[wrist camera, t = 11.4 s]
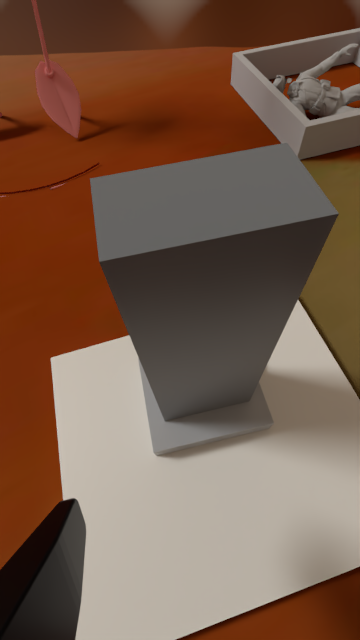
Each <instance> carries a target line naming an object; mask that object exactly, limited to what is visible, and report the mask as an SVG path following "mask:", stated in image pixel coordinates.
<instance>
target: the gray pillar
mask: <svg viewBox="0 0 360 640" xmlns="http://www.w3.org/2000/svg"><path fill="white" fill-rule="evenodd" d="M90 183H91V192H92V201H93V210H94V219H95V228H96V237H97V246H98V255H99V262H100V265H101V267H102V270H103V272H104V275H105V277H106V279H107V282H108V284H109V287H110V289H111V292H112V294H113V296H114V299H115V301H116V304H117V306H118V309H119V311H120V313H121V316H122V318H123V321H124V323H125V326H126V328H127V331H128V333H129V335H130V338H131V340H132V343H133V345H134V348H135V350H136V352H137V355H138V357H139V358H138V361H139V367H140V373H141V379H142V385H143V391H144V397H145V404H146V410H147V416H148V422H149V428H150V434H151V440H152V447H153V453H154V454H155V455H156V456H159V455H163V454H167V453H171V452H175V451H179V450H183V449H187V448H192V447H196V446H200V445H204V444H208V443H212V442H216V441H220V440H224V439H228V438H232V437H236V436H241V435H245V434H249V433H253V432H257V431H261V430H265V429H269V428H270V427H271V426H272V425H273V424H274V421H273V419H272V416H271V413H270V411H269V408H268V405H267V402H266V400H265V397H264V394H263V392H262V389H261V386H260V384H259V380H260V378H261V376H262V374H263V372H264V370H265V368H266V366H267V363H268V361H269V359H270V357H271V355H272V353H273V351H274V349H275V347H276V345H277V342H278V340H279V338H280V336H281V334H282V332H283V330H284V328H285V326H286V324H287V321H288V319H289V317H290V315H291V313H292V311H293V309H294V307H295V305H296V302H297V300H298V298H299V296H300V294H301V292H302V290H303V288H304V286H305V284H306V281H307V279H308V277H309V275H310V273H311V271H312V269H313V267H314V265H315V262H316V260H317V258H318V256H319V254H320V252H321V250H322V248H323V246H324V244H325V241H326V239H327V237H328V235H329V233H330V231H331V229H332V227H333V225H334V222H335V220H336V218H337V216H338V214H339V213H338V212H337V211H336V209H335V208H334V207H333V205H332V204H331V202H330V201H329V200H328V198H327V197H326V195H325V194H324V193H323V191H322V190H321V189H320V187H319V186H318V184H317V183H316V182H315V180H314V179H313V178H312V176H311V175H310V173H309V172H308V171H307V169H306V168H305V167H304V165H303V164H302V162H301V161H300V160H299V158H298V157H297V155H296V154H295V153H294V151H293V150H292V149H291V147H290V146H289V144H288V143H283V144H277V145H272V146H266V147H261V148H255V149H250V150H244V151H239V152H233V153H228V154H222V155H217V156H212V157H206V158H201V159H195V160H190V161H184V162H179V163H173V164H168V165H162V166H157V167H151V168H146V169H140V170H135V171H130V172H124V173H119V174H113V175H108V176H102V177H97V178H91V179H90Z"/></svg>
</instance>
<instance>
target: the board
mask: <svg viewBox="0 0 360 640" xmlns="http://www.w3.org/2000/svg"><path fill="white" fill-rule="evenodd" d="M138 358H139V357H138V355H137V352H136V350H135V348H134V345H133V343H132V340H131V338H130V335H129V336H125V337H122V338H118V339H115V340H111V341H108V342H104V343H101V344H97V345H94V346H91V347H87V348H84V349H80V350H77V351H73V352H70V353H66V354H63V355H59V356H56V357H52V358H51V366H52V378H53V389H54V400H55V412H56V423H57V434H58V446H59V457H60V468H61V480H62V491H63V500H67V499H71V498H75V499H77V500H78V502H79V505H80V508H81V511H82V514H83V517H84V520H85V524H86V543H85V557H84V571H83V585H82V597H81V606H80V613H79V619H78V625H77V631H76V638H75V639H76V640H176V639H178V638H181V637H183V636H186V635H188V634H191V633H193V632H196V631H198V630H201V629H204V628H206V627H209V626H211V625H214V624H216V623H219V622H221V621H224V620H226V619H229V618H231V617H234V616H236V615H239V614H241V613H244V612H246V611H249V610H251V609H254V608H256V607H259V606H262V605H264V604H267V603H269V602H272V601H274V600H277V599H279V598H282V597H284V596H287V595H289V594H292V593H294V592H297V591H299V590H302V589H304V588H307V587H309V586H312V585H314V584H317V583H319V582H322V581H325V580H327V579H330V578H332V577H335V576H337V575H340V574H342V573H345V572H347V571H350V570H352V569H355V568H357V567H360V399H359V398H358V396H357V394H356V393H355V391H354V390H353V388H352V386H351V385H350V383H349V381H348V380H347V378H346V377H345V375H344V373H343V372H342V370H341V368H340V367H339V365H338V364H337V362H336V360H335V359H334V357H333V355H332V354H331V352H330V351H329V349H328V347H327V346H326V344H325V342H324V341H323V339H322V338H321V336H320V334H319V333H318V331H317V329H316V328H315V326H314V325H313V323H312V321H311V320H310V318H309V316H308V315H307V313H306V312H305V310H304V308H303V307H302V305H301V303H300V302H299V300H297V302H296V305H295V307H294V309H293V311H292V313H291V315H290V317H289V319H288V321H287V324H286V326H285V328H284V330H283V332H282V334H281V336H280V338H279V340H278V342H277V345H276V347H275V349H274V351H273V353H272V355H271V357H270V359H269V361H268V363H267V366H266V368H265V370H264V372H263V374H262V376H261V378H260V380H259V384H260V386H261V389H262V392H263V394H264V397H265V400H266V402H267V405H268V408H269V411H270V413H271V416H272V419H273V421H274V424H273V425H272V426H271V427H270V428H269V429H265V430H261V431H257V432H253V433H249V434H245V435H241V436H236V437H232V438H228V439H224V440H220V441H216V442H212V443H208V444H204V445H200V446H196V447H192V448H187V449H183V450H179V451H175V452H171V453H167V454H163V455H159V456H156V455H155V454H154V453H153V447H152V440H151V434H150V428H149V422H148V416H147V410H146V404H145V397H144V391H143V385H142V379H141V373H140V367H139V361H138Z"/></svg>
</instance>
